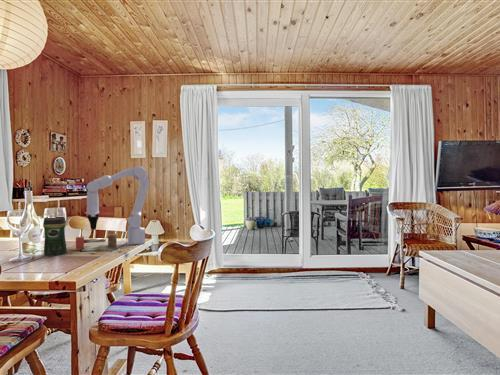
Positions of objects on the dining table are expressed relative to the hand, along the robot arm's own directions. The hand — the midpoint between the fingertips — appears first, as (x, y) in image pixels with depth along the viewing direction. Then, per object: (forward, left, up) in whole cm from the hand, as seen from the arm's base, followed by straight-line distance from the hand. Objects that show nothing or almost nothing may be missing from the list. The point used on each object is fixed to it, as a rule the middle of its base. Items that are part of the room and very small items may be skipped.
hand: (93, 228), depth 185 cm
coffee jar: (+17, +13, -10) cm, 24 cm away
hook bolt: (+1, +7, -9) cm, 11 cm away
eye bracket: (-3, +7, -10) cm, 12 cm away
